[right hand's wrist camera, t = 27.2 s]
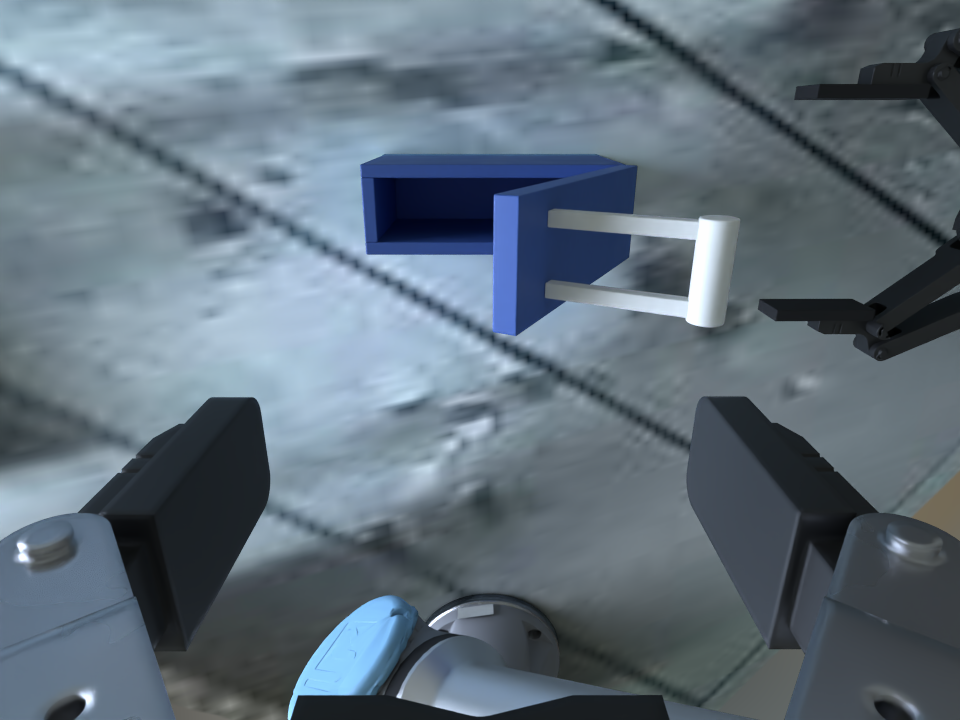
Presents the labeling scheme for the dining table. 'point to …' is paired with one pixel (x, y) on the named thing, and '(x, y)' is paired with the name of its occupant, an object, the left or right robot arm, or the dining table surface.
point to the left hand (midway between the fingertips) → (784, 207)
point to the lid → (597, 251)
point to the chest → (451, 197)
